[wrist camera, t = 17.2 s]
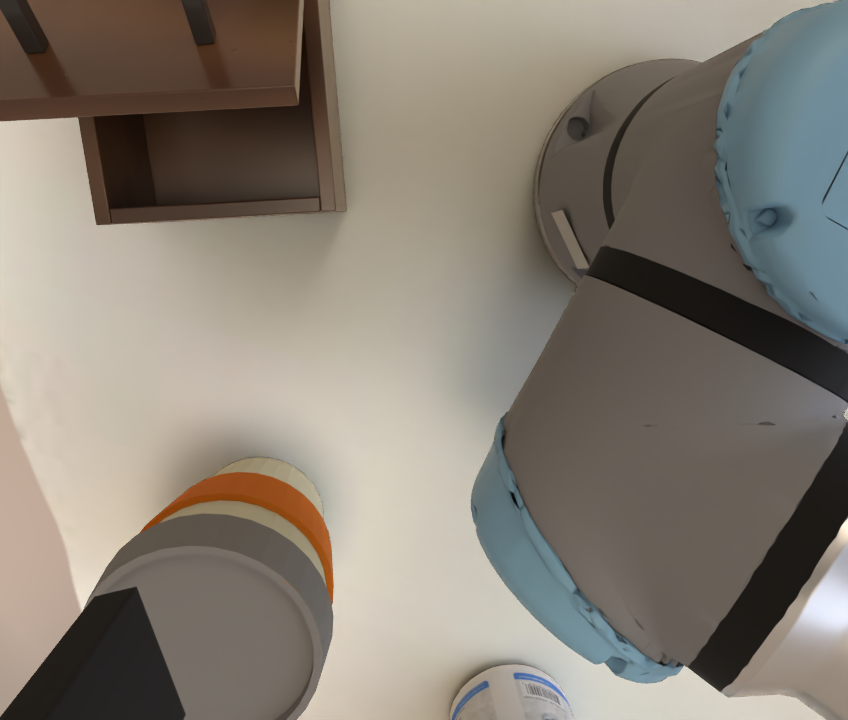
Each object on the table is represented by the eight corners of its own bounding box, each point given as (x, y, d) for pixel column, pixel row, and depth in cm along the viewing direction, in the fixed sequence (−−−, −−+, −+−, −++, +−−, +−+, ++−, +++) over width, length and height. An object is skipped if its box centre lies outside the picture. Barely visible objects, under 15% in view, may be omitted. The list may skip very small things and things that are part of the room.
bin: (346, 211, 42) (336, 210, 34) (150, 222, 41) (95, 225, 34) (326, -39, 38) (309, -102, 31) (112, -29, 38) (42, -90, 30)
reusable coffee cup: (162, 436, 44) (49, 546, 30) (344, 429, 45) (320, 534, 30) (182, 596, 47) (87, 769, 33) (353, 589, 48) (335, 755, 33)
